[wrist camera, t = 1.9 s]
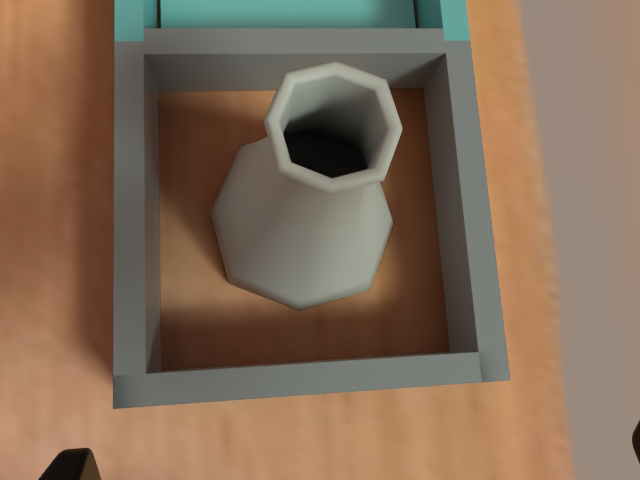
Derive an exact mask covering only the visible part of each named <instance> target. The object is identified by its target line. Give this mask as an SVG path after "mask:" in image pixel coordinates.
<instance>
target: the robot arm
mask: <svg viewBox="0 0 640 480" xmlns="http://www.w3.org/2000/svg"><path fill="white" fill-rule="evenodd" d="M632 443H633V448H634V451H635V453H636V456H637V458H638V460H639V463H640V421H639V422H638V424H637V426H636V428H635V430H634V432H633V435H632ZM38 480H101V477H100V474H99V471H98V467H97V464H96V461H95V458H94V455H93V452H92V450H90V449H89V448H77V449H66V450H63V451H62V452H60V453H59V454H58V455H57V456H56V458H55V459H54V460H53V461H52V463H51V464H50V465H49V467H48V468H47V469H46V470H45V472H44V473H43V474H42V476H41V477H40V478H39V479H38Z"/></svg>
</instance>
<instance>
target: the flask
mask: <svg viewBox="0 0 640 480" xmlns="http://www.w3.org/2000/svg"><path fill="white" fill-rule="evenodd" d="M264 125H265V129H266V132H267V136H268V137H266V138H264V139H261V140H259V141H257V142H253V143H250V144H247V145H243V146H241V147H239V148H238V149H237V152H236V154H235V156H234V159H233V161H232V163H231V166H230V168H229V170H228V172H227V175H226V177H225V179H224V182H223V184H222V186H221V189H220V191H219V193H218V196H217V198H216V200H215V203H214V205H213V207H212V210H211V212H210V214H211V218H212V222H213V225H214V229H215V233H216V237H217V240H218V244H219V248H220V252H221V255H222V259H223V263H224V267H225V270H226V274H227V278H228V282H229V284H231V285H234V286H236V287H239V288H242V289H244V290H247V291H249V292H252V293H255V294H257V295H260V296H262V297H265V298H268V299H270V300H273V301H275V302H278V303H281V304H283V305H286V306H288V307H291V308H294V309H296V310H299V311H300V310H303V309H307V308H310V307H314V306H317V305H321V304H324V303H328V302H331V301H335V300H338V299H342V298H345V297H348V296H352V295H355V294H359V293H362V292H366V291H369V290H370V289H371V286H372V283H373V280H374V277H375V275H376V272H377V269H378V266H379V263H380V261H381V258H382V255H383V252H384V249H385V246H386V244H387V241H388V238H389V235H390V232H391V230H392V227H393V224H394V223H393V220H392V217H391V214H390V211H389V207H388V204H387V201H386V198H385V195H384V192H383V188H382V185H381V182H382V181H384V179H385V177H386V174H387V171H388V169H389V166H390V163H391V160H392V158H393V155H394V152H395V149H396V147H397V144H398V141H399V138H400V136H401V133H402V130H403V128H402V125H401V122H400V119H399V116H398V113H397V110H396V107H395V104H394V101H393V98H392V95H391V92H390V89H389V86H388V83H387V80H386V79H383V78H381V77H378V76H376V75H373V74H371V73H368V72H366V71H363V70H361V69H358V68H356V67H353V66H351V65H348V64H346V63H343V62H341V61H338V60H334V61H329V62H325V63H320V64H316V65H311V66H307V67H302V68H298V69H293V70H289V71H285V72H284V74H283V76H282V79H281V81H280V83H279V86H278V88H277V90H276V93H275V95H274V97H273V100H272V102H271V105H270V107H269V109H268V112H267V114H266V116H265V119H264Z"/></svg>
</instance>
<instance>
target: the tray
mask: <svg viewBox="0 0 640 480" xmlns="http://www.w3.org/2000/svg"><path fill="white" fill-rule="evenodd" d="M415 10H416V20H417V28H416V25H415V15H414V5H413V0H161V28H158V22H157V0H115V20H114V277H113V409H117V408H131V407H145V406H159V405H173V404H187V403H201V402H215V401H229V400H242V399H256V398H270V397H284V396H298V395H312V394H326V393H340V392H354V391H367V390H381V389H395V388H409V387H423V386H437V385H451V384H465V383H479V382H493V381H506V380H510V373H509V365H508V356H507V348H506V339H505V331H504V322H503V314H502V306H501V297H500V289H499V280H498V272H497V263H496V255H495V246H494V238H493V229H492V221H491V213H490V204H489V196H488V187H487V179H486V170H485V162H484V153H483V145H482V136H481V128H480V120H479V111H478V103H477V94H476V86H475V77H474V69H473V60H472V52H471V43H470V35H469V27H468V18H467V10H466V1H465V0H415ZM334 60H338V61H341V62H343V63H346V64H348V65H351V66H353V67H356V68H358V69H361V70H363V71H366V72H368V73H371V74H373V75H376V76H378V77H381V78H383V79H386V80H387V83H388V86H389V89H424V99H425V109H426V119H427V129H428V139H429V149H430V159H431V169H432V179H433V189H434V199H435V209H436V219H437V228H438V238H439V248H440V258H441V268H442V278H443V288H444V298H445V308H446V318H447V328H448V338H449V348H450V352H438V353H423V354H408V355H392V356H377V357H362V358H346V359H331V360H316V361H300V362H285V363H270V364H254V365H239V366H224V367H208V368H193V369H178V370H162V371H161V295H160V204H159V113H158V92H170V91H258V90H277V88H278V86H279V83H280V81H281V79H282V76H283V74H284V72H285V71H289V70H293V69H298V68H302V67H307V66H311V65H316V64H320V63H325V62H329V61H334Z"/></svg>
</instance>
